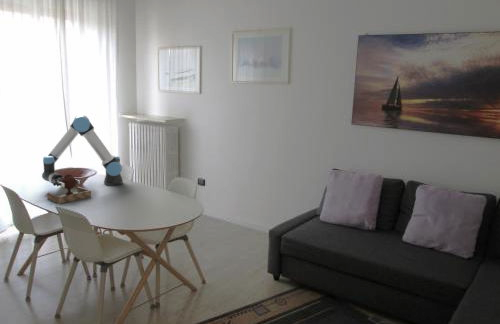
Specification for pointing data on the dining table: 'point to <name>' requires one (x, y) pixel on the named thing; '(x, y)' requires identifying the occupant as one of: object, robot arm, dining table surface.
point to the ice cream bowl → (69, 183)
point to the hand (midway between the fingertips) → (71, 183)
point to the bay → (70, 196)
